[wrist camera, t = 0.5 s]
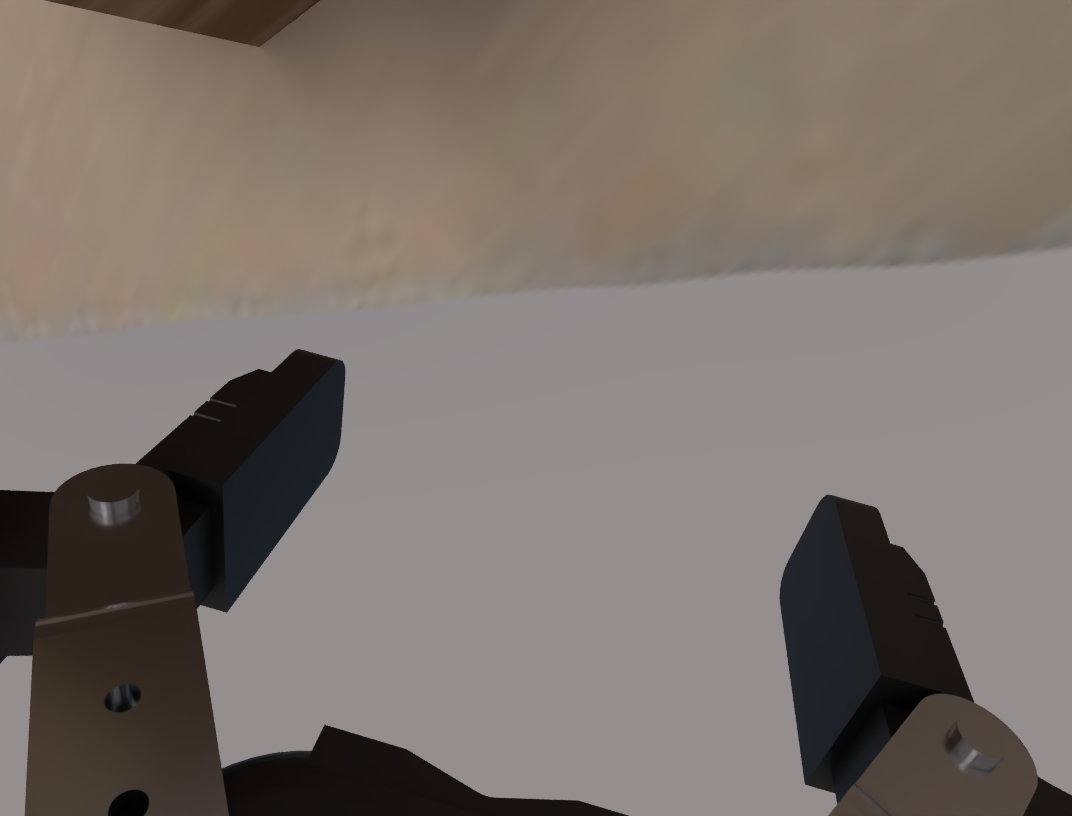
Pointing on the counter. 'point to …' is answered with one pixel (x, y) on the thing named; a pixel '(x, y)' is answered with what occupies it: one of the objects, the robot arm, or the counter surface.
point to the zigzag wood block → (207, 15)
